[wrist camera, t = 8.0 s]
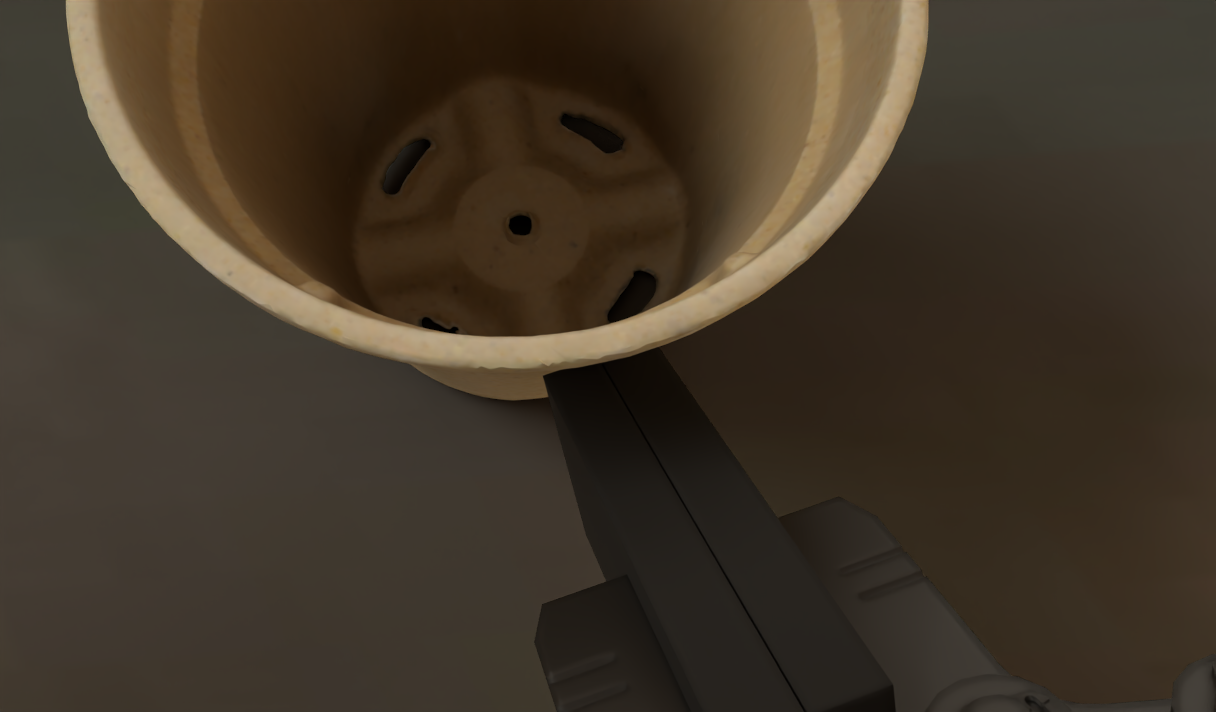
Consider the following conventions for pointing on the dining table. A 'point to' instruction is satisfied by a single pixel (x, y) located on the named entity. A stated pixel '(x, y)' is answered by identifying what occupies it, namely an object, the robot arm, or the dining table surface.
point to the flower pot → (498, 159)
